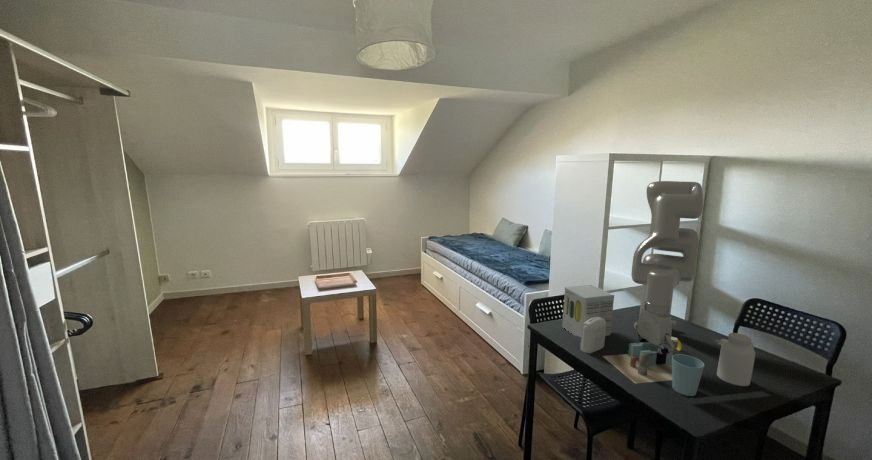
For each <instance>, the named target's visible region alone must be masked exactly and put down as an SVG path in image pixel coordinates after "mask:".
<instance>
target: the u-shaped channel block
mask: <svg viewBox="0 0 872 460" xmlns="http://www.w3.org/2000/svg"><path fill="white" fill-rule="evenodd" d="M661 347H662V349H664V347H663V346H661ZM673 351H674V350H672V351H671V352H670V353H669V354H667V357H666V364H662V365H670V364H671V363H672V356H673V355H674V354H673V353H674V352H673ZM641 352H644V353H647V354H648V355H649V359H648V366H658V365H657V364H656V357H657V353H659V352H658V348H657V346H656V345H654V344H652V343H651V342H642V343H639V342H631V343H628V353H627V354H628V356H629V357H631V356H634V357H636V358H640V353H641Z"/></svg>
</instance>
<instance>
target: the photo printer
mask: <svg viewBox="0 0 872 460" xmlns="http://www.w3.org/2000/svg"><path fill="white" fill-rule="evenodd" d="M605 332H606V321H605V320H604V319H603V318H600V317H594V318H591V319H589V320H587V321H586V322H585V323H584V324H583V325H582V332H581V337H580V346H579V350H580V351H582V352H583V353H585V354H586V353H587V354H593V353H594V352H596V351H599V350H601V349H603V348H604V347H605V342H606V336H605Z"/></svg>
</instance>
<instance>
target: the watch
mask: <svg viewBox="0 0 872 460" xmlns="http://www.w3.org/2000/svg"><path fill="white" fill-rule="evenodd" d="M671 341H672V342H673V343H677V347H676V350H677V351H679V352H680V351H681V350H682V343H681V341H680V340H679V339H678V337H674V336H671ZM667 346H668V345H667Z"/></svg>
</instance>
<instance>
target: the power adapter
mask: <svg viewBox="0 0 872 460" xmlns="http://www.w3.org/2000/svg"><path fill="white" fill-rule="evenodd" d="M711 341H713V343H712V344H714V345H719V346H722V343H723V342H725V341H728V339H726V338H721V339H715V338H712V339H711ZM754 346H755V345H754V342H753V341H752V340H751V347H752V348H753V349H754V348H755V347H754Z"/></svg>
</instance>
